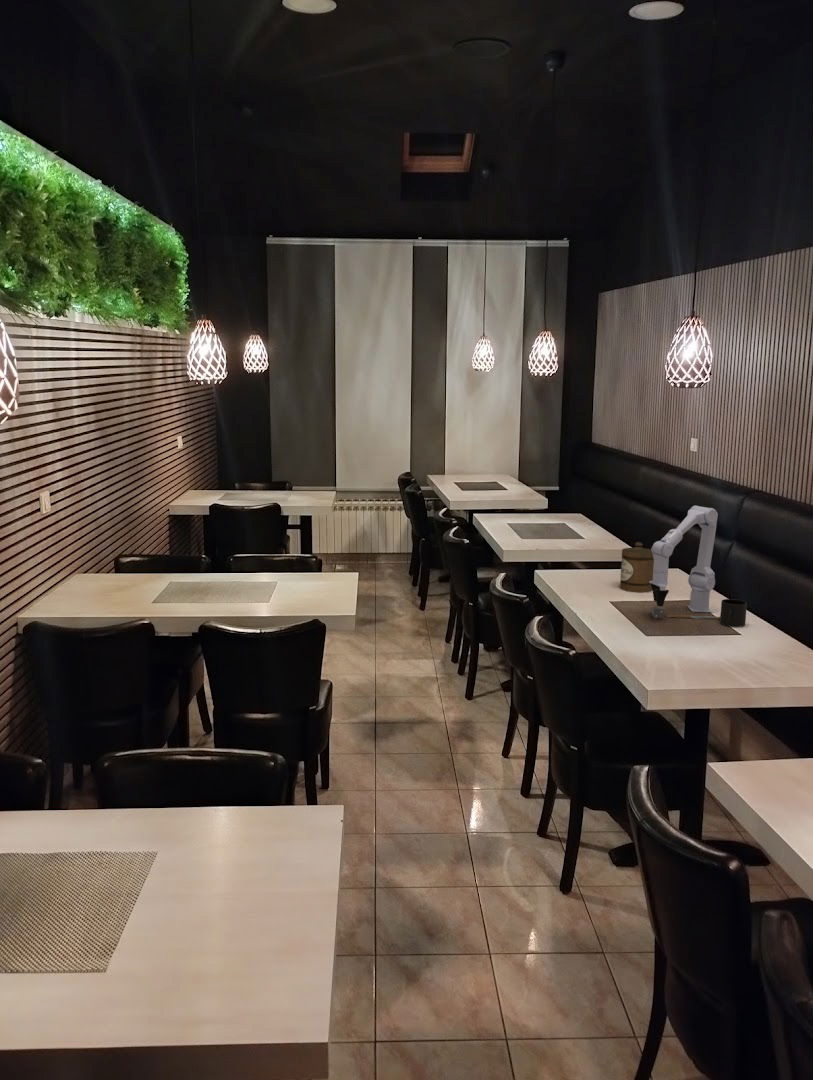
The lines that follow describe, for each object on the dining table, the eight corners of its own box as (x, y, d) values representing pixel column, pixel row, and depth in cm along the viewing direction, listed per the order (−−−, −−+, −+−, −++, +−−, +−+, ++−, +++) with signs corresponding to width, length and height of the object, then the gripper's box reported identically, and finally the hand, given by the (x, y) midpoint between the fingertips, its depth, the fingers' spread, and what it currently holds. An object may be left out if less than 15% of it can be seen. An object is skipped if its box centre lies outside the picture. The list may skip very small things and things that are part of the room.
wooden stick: (666, 616, 354) (666, 614, 353) (738, 618, 350) (738, 617, 350) (667, 617, 351) (667, 616, 351) (739, 620, 348) (739, 618, 348)
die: (651, 615, 354) (652, 606, 353) (661, 616, 354) (662, 606, 353) (653, 618, 350) (654, 608, 349) (663, 619, 350) (664, 609, 349)
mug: (716, 626, 340) (717, 604, 338) (722, 619, 350) (724, 597, 348) (741, 630, 335) (743, 607, 333) (747, 622, 345) (749, 600, 343)
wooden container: (617, 584, 408) (619, 539, 404) (648, 585, 407) (651, 539, 403) (623, 592, 393) (626, 545, 389) (656, 593, 393) (659, 545, 389)
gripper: (647, 566, 356) (645, 598, 359) (653, 574, 342) (651, 607, 344) (665, 567, 355) (662, 599, 358) (671, 575, 341) (669, 608, 344)
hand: (658, 603), depth 351 cm, fingers open, 7 cm apart
